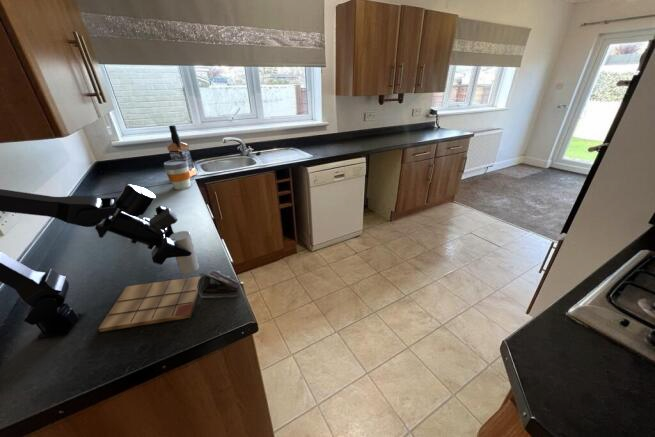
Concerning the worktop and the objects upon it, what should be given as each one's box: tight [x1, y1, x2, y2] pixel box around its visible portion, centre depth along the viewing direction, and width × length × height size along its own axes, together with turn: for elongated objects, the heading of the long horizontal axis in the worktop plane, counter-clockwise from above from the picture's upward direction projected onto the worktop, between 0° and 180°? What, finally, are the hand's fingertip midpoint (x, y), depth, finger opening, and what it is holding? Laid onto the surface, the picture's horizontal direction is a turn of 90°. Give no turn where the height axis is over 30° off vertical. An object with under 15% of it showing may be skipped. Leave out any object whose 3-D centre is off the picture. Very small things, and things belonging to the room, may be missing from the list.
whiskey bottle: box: [166, 124, 198, 178], centre depth 171 cm, size 10×10×32 cm
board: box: [97, 275, 201, 333], centre depth 77 cm, size 22×16×1 cm
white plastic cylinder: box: [169, 230, 200, 275], centre depth 81 cm, size 5×5×12 cm
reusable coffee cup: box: [163, 159, 192, 190], centre depth 157 cm, size 13×12×15 cm
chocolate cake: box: [197, 269, 240, 299], centre depth 81 cm, size 10×7×12 cm
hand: (189, 249), depth 81 cm, fingers closed on white plastic cylinder, 5 cm apart
